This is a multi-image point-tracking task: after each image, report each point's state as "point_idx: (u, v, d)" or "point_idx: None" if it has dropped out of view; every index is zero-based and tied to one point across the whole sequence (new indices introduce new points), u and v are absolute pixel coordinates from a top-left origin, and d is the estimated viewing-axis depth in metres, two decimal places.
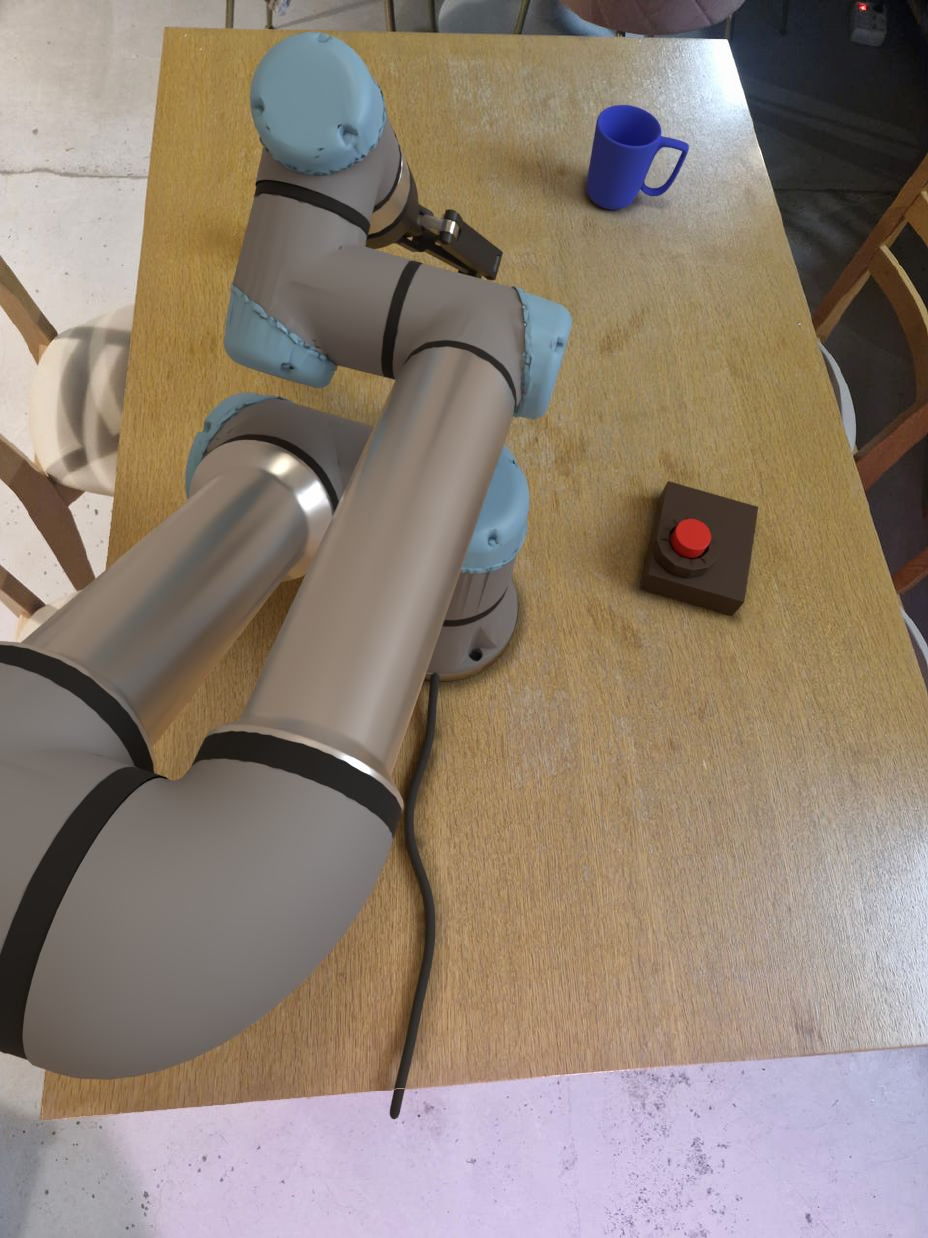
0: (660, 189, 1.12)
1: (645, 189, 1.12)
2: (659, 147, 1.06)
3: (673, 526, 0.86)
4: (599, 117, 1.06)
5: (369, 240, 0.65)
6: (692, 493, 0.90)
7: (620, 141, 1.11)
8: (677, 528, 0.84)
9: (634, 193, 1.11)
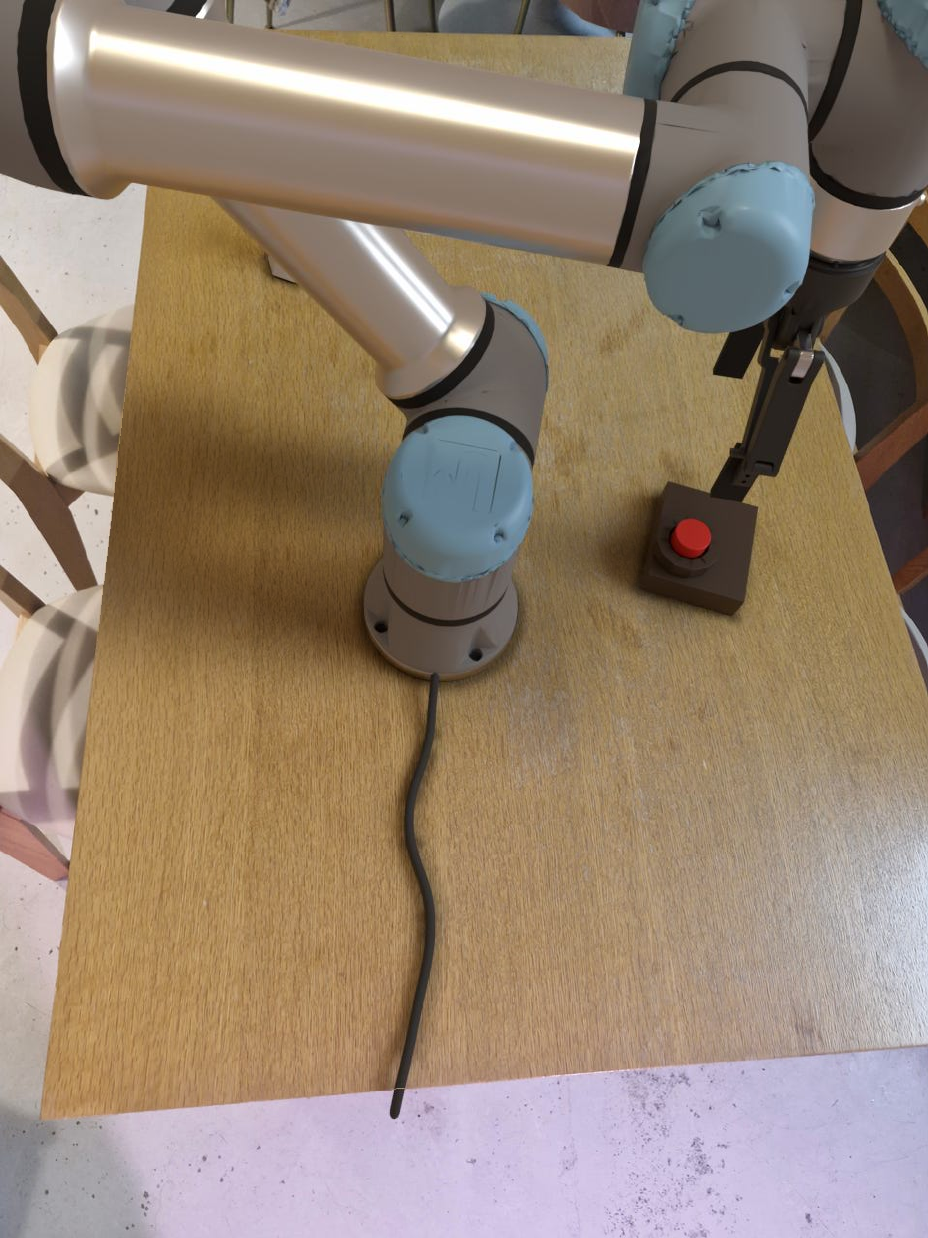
0: None
1: None
2: None
3: (673, 526, 0.86)
4: None
5: None
6: (692, 493, 0.90)
7: None
8: (677, 528, 0.84)
9: None
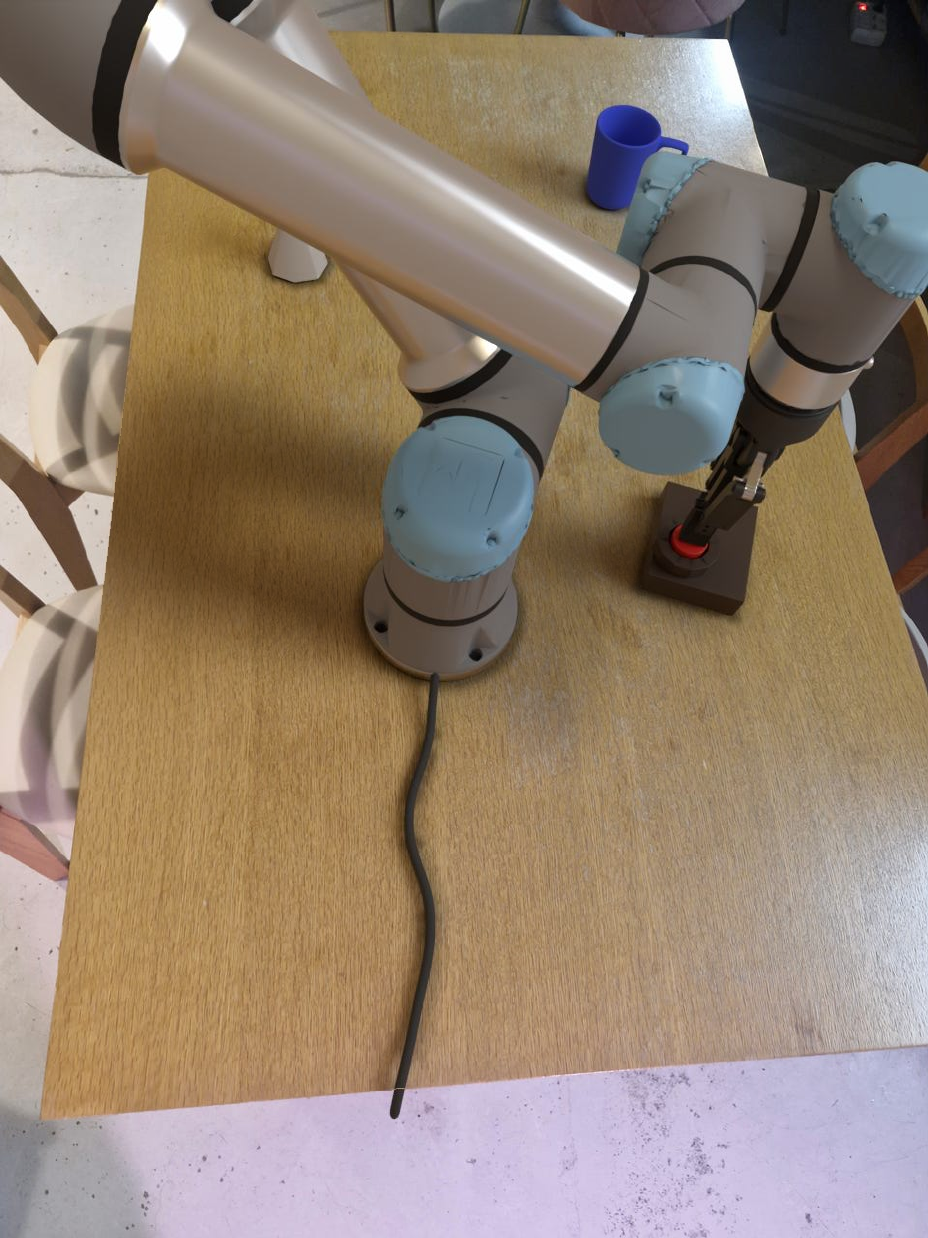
0: None
1: None
2: (659, 147, 1.06)
3: (673, 526, 0.86)
4: (599, 117, 1.06)
5: None
6: (692, 493, 0.90)
7: (620, 141, 1.11)
8: (674, 533, 0.85)
9: None
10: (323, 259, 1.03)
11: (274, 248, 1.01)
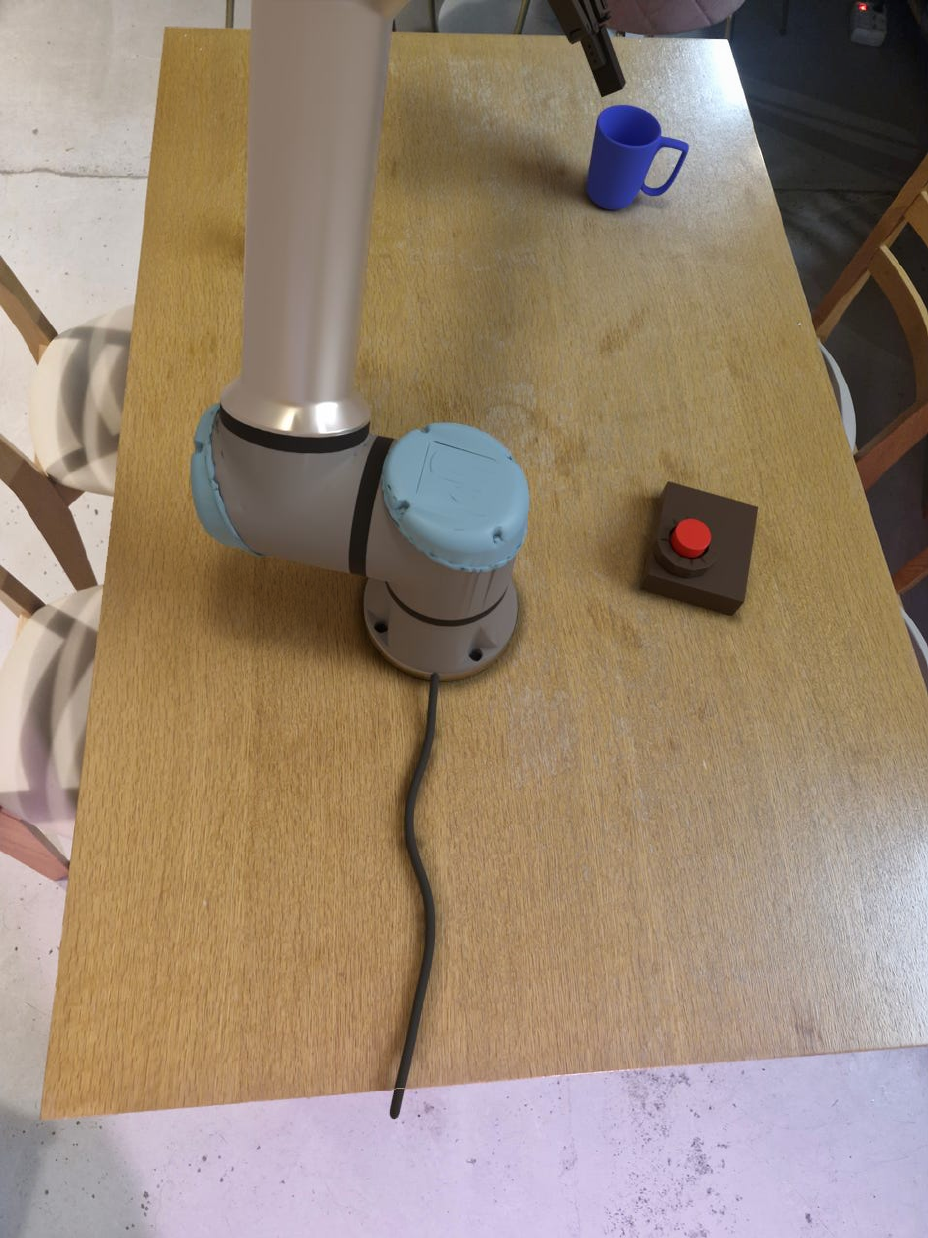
0: (660, 189, 1.12)
1: (645, 189, 1.12)
2: (659, 147, 1.06)
3: (673, 526, 0.86)
4: (599, 117, 1.06)
5: None
6: (692, 493, 0.90)
7: (620, 141, 1.11)
8: (677, 528, 0.84)
9: (634, 193, 1.11)
10: None
11: None
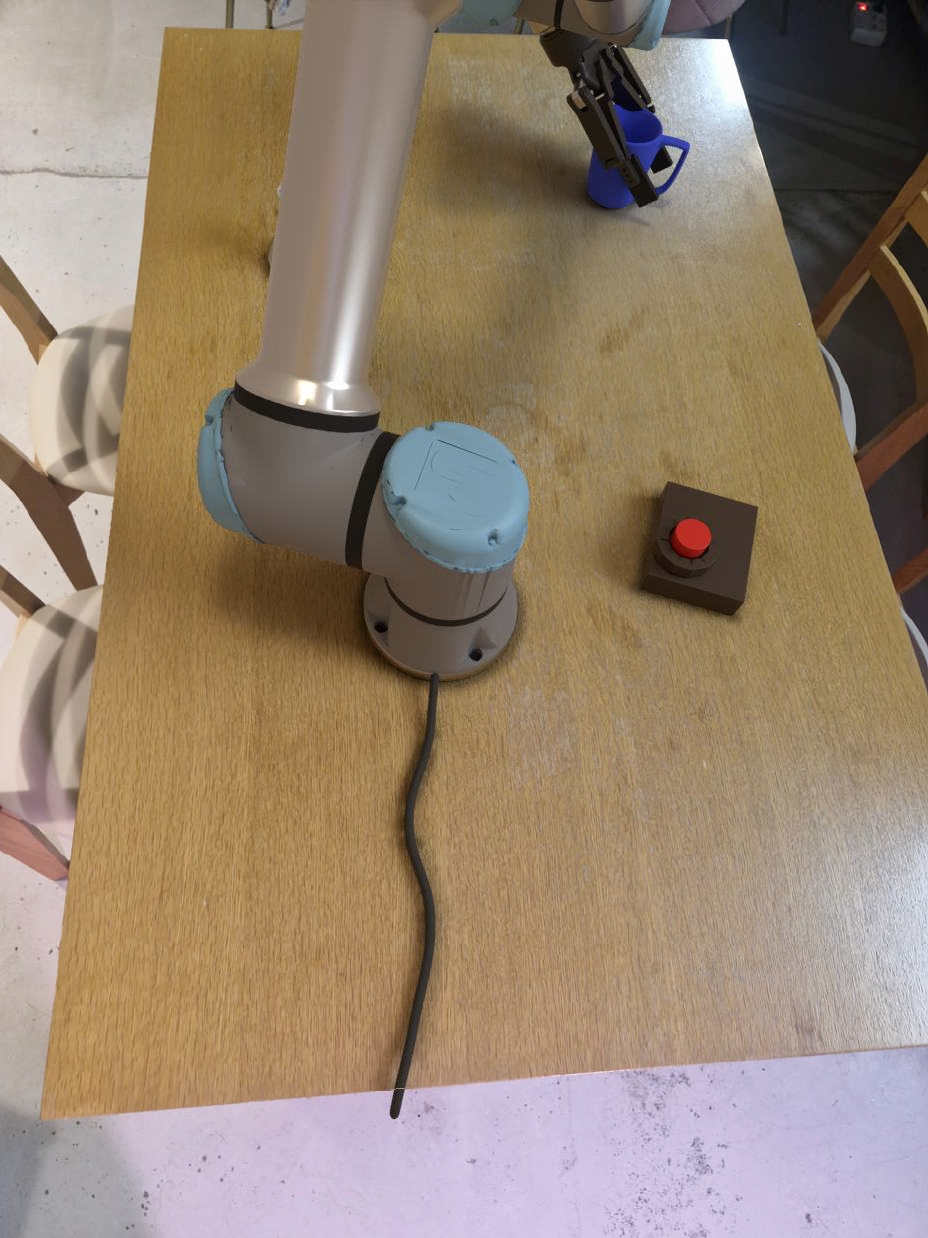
0: (661, 188, 1.12)
1: None
2: (660, 145, 1.06)
3: (673, 526, 0.86)
4: None
5: None
6: (692, 493, 0.90)
7: None
8: (677, 528, 0.84)
9: None
10: None
11: None
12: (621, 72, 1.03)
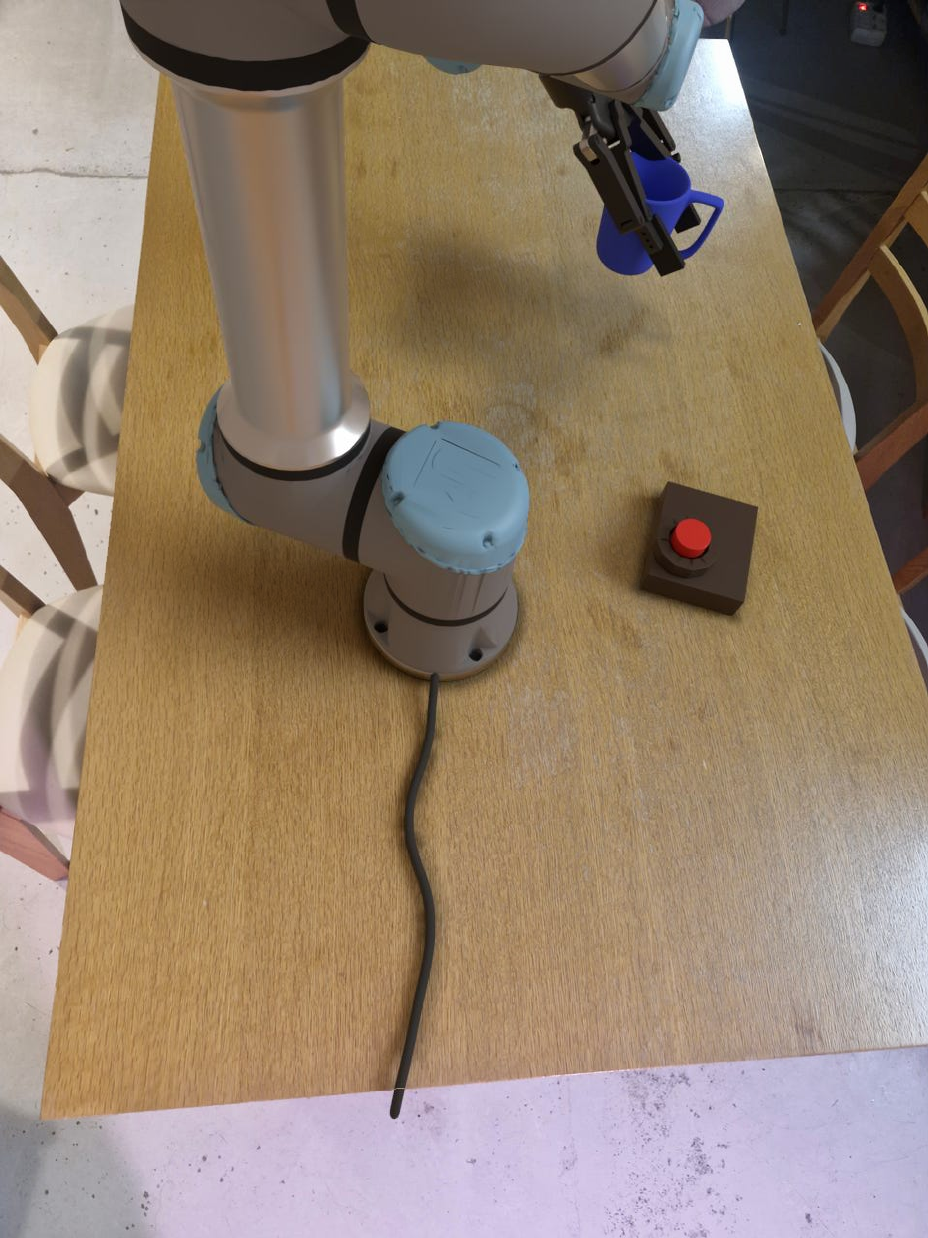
0: (686, 252, 0.92)
1: None
2: (688, 203, 0.86)
3: (673, 526, 0.86)
4: None
5: None
6: (692, 493, 0.90)
7: None
8: (677, 528, 0.84)
9: None
10: None
11: None
12: (640, 114, 0.83)
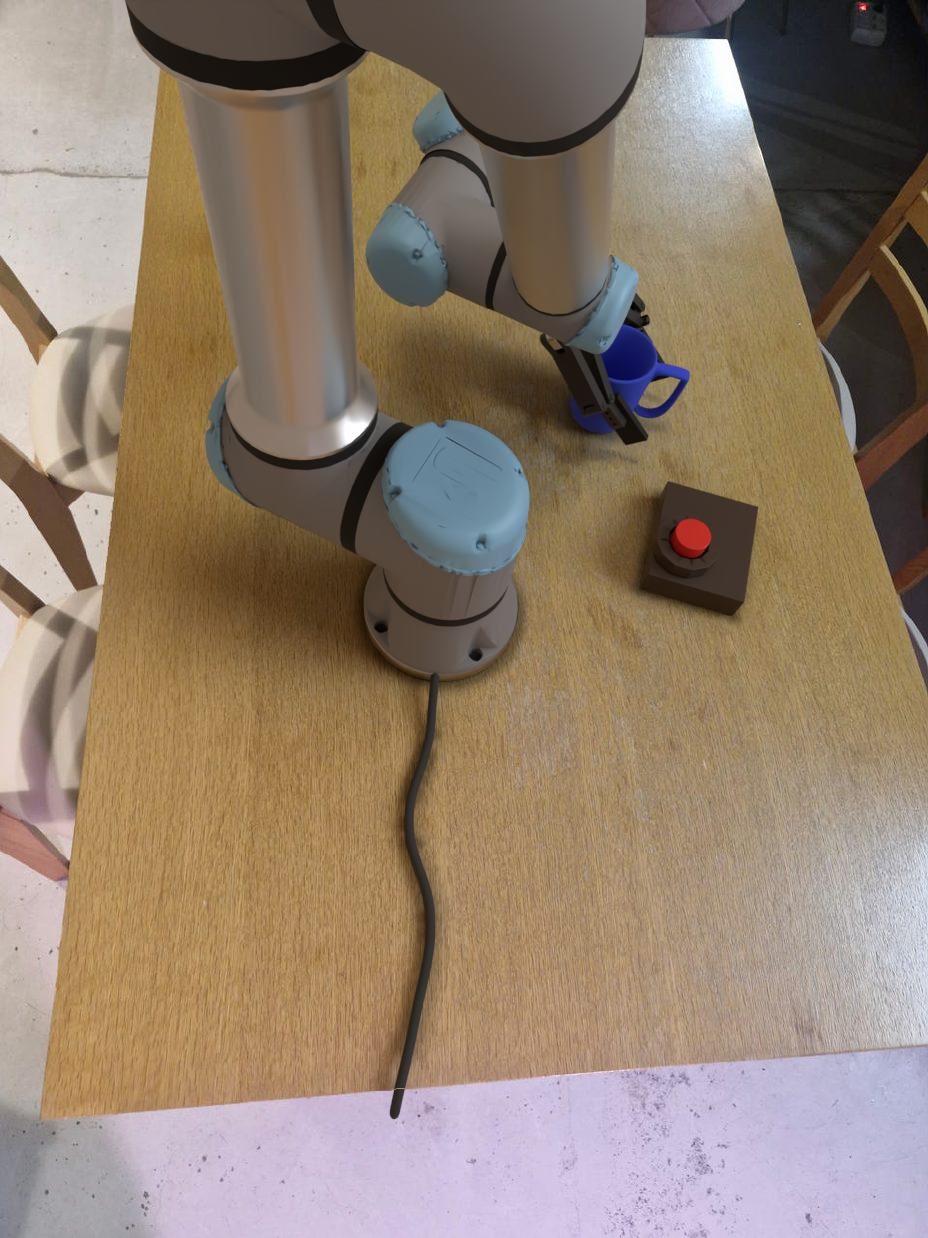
0: (656, 412, 0.95)
1: (639, 411, 0.96)
2: (655, 375, 0.90)
3: (673, 526, 0.86)
4: None
5: None
6: (692, 493, 0.90)
7: (609, 359, 0.94)
8: (677, 528, 0.84)
9: None
10: None
11: None
12: None
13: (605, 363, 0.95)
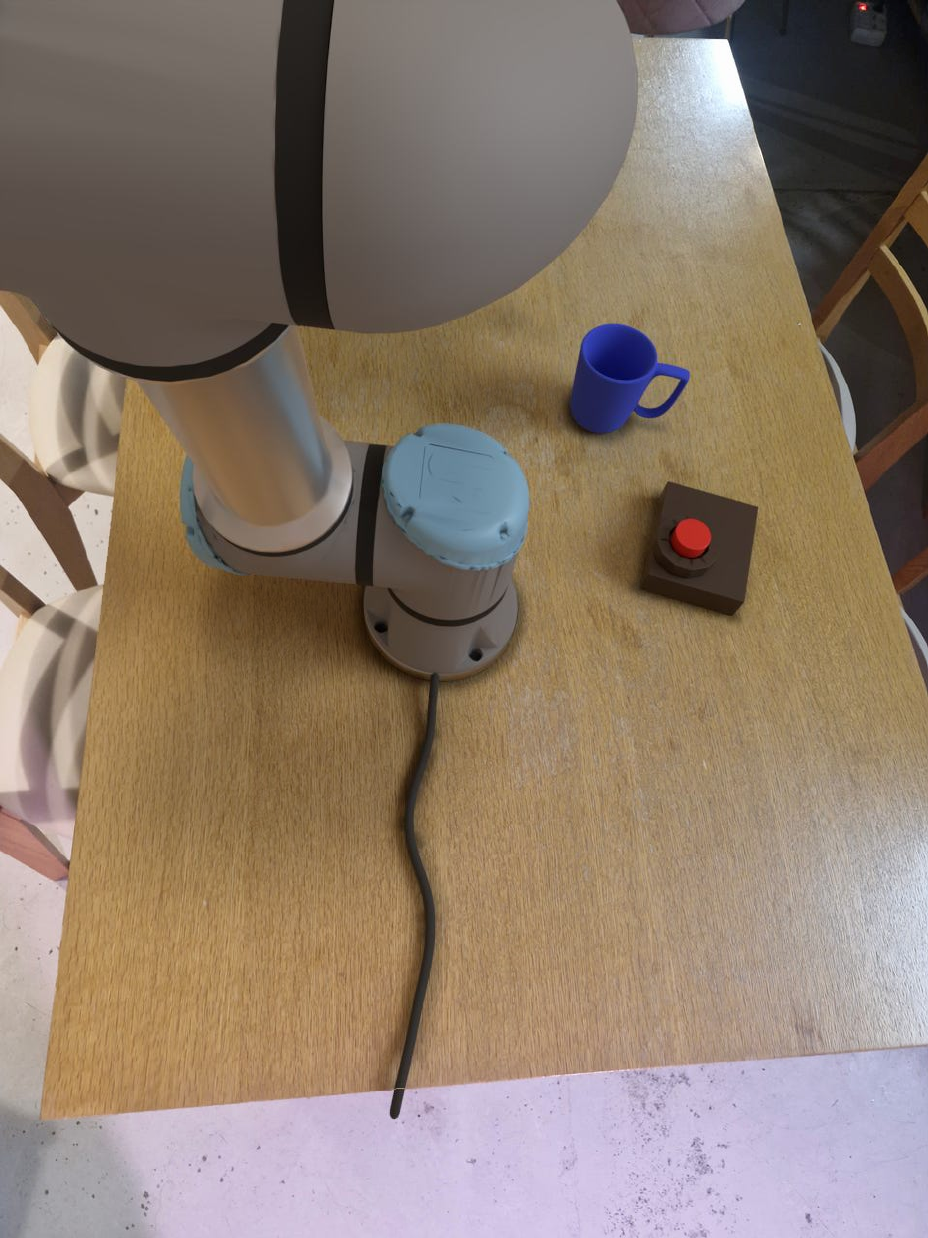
0: (656, 412, 0.95)
1: (639, 411, 0.96)
2: (655, 375, 0.90)
3: (673, 526, 0.86)
4: (584, 342, 0.89)
5: None
6: (692, 493, 0.90)
7: (609, 359, 0.94)
8: (677, 528, 0.84)
9: (626, 418, 0.95)
10: None
11: None
12: None
13: (605, 363, 0.95)
